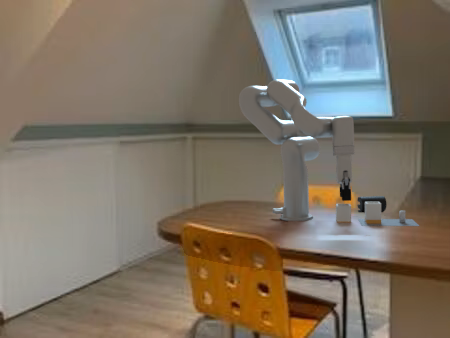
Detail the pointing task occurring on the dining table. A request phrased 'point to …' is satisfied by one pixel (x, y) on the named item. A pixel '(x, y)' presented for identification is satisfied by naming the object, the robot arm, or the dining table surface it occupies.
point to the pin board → (392, 221)
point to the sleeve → (343, 213)
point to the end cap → (371, 199)
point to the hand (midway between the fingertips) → (345, 198)
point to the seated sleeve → (373, 212)
